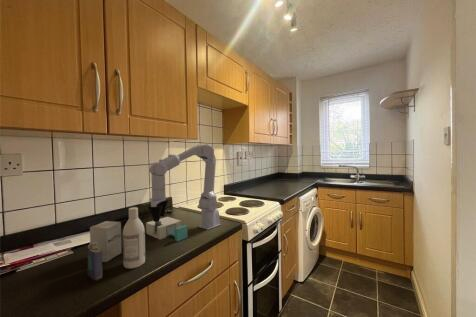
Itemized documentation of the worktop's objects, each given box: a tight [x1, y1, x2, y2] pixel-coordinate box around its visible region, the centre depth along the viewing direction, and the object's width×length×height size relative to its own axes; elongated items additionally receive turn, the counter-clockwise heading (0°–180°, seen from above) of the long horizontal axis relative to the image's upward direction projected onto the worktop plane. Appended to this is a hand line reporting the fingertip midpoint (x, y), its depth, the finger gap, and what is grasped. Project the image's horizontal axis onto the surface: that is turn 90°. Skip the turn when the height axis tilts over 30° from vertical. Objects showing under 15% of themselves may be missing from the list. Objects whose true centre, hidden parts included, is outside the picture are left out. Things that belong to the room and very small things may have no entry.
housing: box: [145, 216, 182, 240], centre depth 102 cm, size 12×12×5 cm
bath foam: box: [122, 206, 146, 270], centre depth 72 cm, size 7×7×20 cm
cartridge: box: [166, 224, 189, 242], centre depth 98 cm, size 6×20×6 cm, turn 52°
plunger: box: [155, 221, 161, 232], centre depth 97 cm, size 3×3×4 cm
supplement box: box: [89, 220, 122, 263], centre depth 78 cm, size 7×7×13 cm
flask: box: [87, 242, 104, 281], centre depth 66 cm, size 9×3×11 cm, turn 49°
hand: (159, 218), depth 92 cm, fingers open, 7 cm apart
